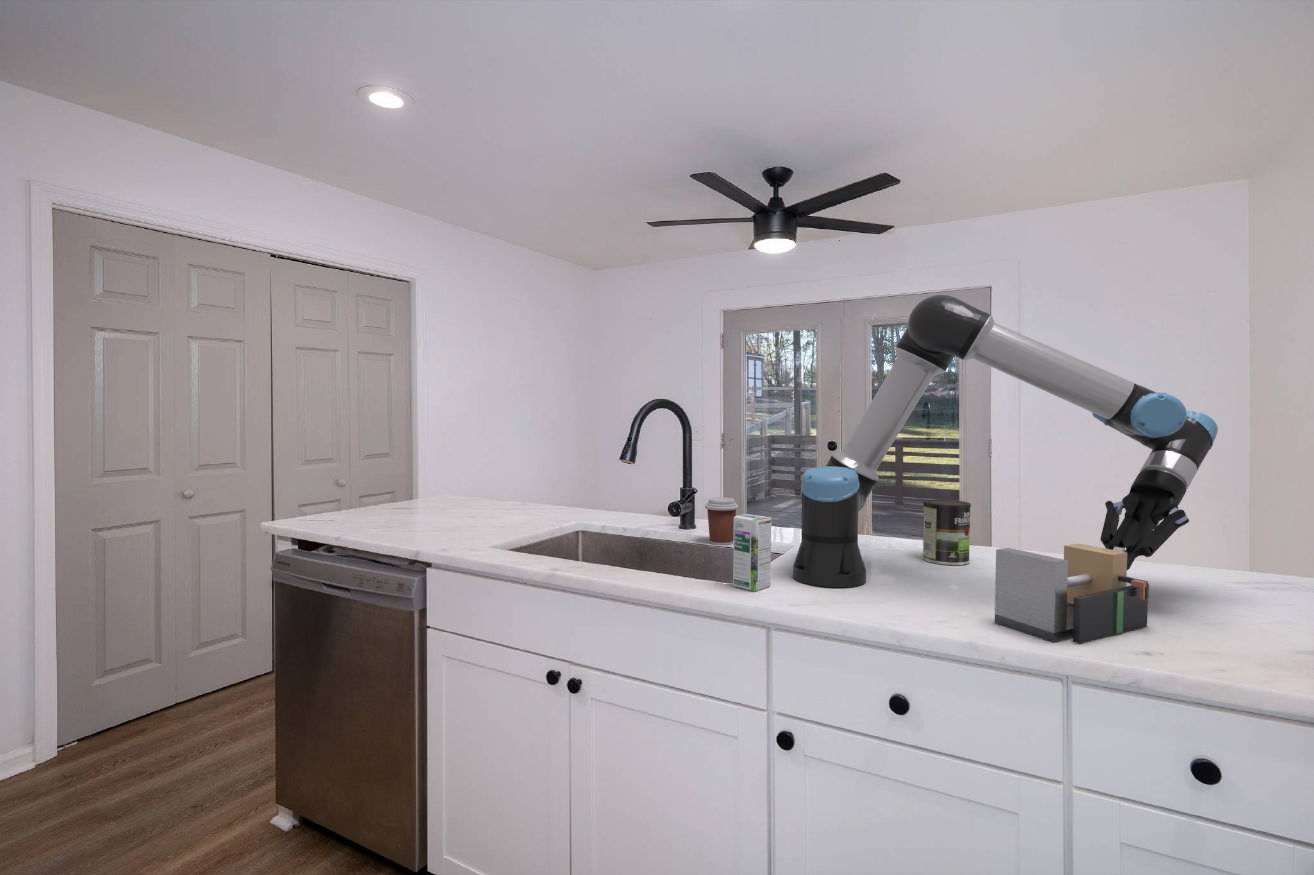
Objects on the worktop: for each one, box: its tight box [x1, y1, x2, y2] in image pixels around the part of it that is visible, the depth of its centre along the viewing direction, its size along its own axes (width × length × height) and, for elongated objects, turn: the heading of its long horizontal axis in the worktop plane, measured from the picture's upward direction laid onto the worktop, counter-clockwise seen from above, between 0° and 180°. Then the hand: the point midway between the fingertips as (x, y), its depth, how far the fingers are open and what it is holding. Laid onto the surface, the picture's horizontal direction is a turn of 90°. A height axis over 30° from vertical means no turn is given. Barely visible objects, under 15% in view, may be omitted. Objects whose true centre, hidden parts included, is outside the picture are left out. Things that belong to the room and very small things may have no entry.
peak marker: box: [1130, 580, 1147, 600], centre depth 101 cm, size 1×2×3 cm, turn 25°
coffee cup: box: [704, 496, 740, 546], centre depth 169 cm, size 9×9×12 cm
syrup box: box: [732, 513, 772, 593], centre depth 127 cm, size 6×6×14 cm
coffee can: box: [922, 499, 972, 566], centre depth 148 cm, size 10×10×14 cm
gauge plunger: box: [1063, 543, 1150, 604], centre depth 105 cm, size 10×12×10 cm
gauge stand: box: [994, 547, 1149, 645], centre depth 104 cm, size 22×12×12 cm, turn 115°
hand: (1106, 580), depth 109 cm, fingers closed
